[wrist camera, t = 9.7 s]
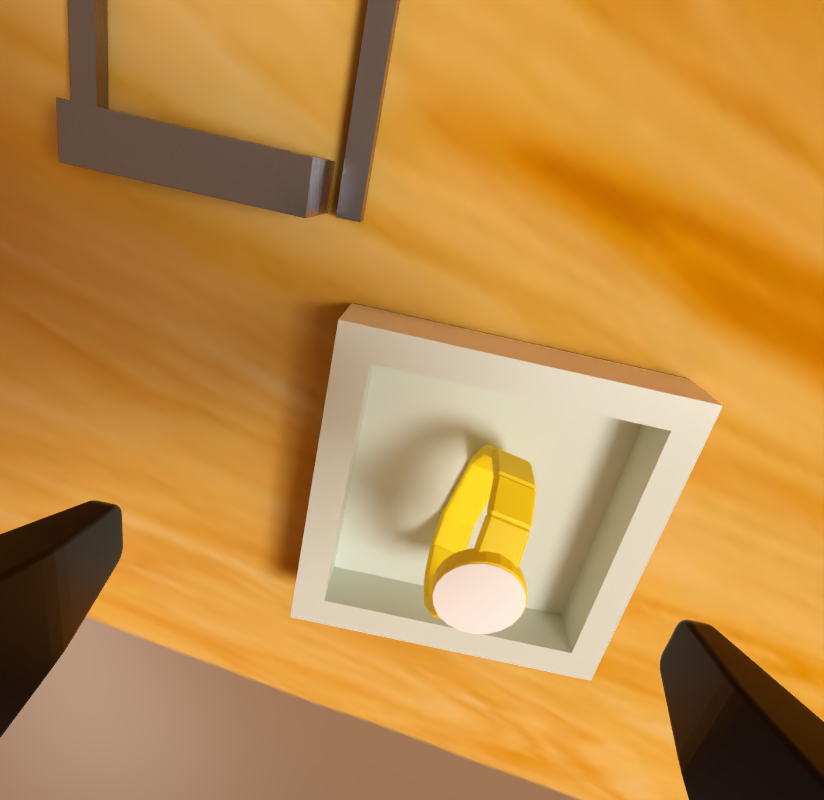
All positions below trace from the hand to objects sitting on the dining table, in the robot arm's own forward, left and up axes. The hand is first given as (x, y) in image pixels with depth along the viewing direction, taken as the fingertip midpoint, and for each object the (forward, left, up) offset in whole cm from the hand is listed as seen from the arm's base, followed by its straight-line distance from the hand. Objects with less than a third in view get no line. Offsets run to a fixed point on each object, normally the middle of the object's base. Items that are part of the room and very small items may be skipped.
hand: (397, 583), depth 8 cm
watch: (-3, +5, -12) cm, 13 cm away
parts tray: (-3, +5, -12) cm, 13 cm away
